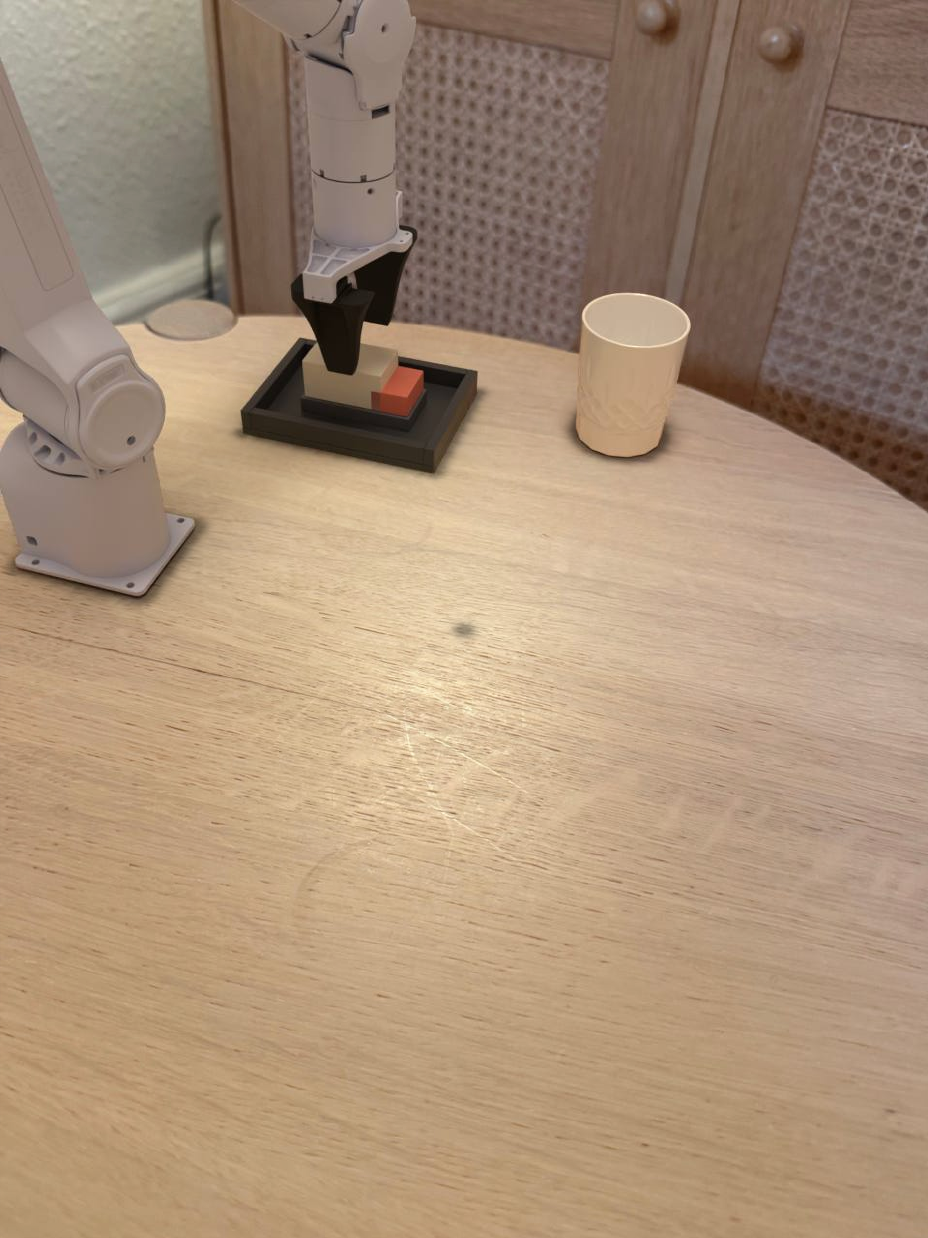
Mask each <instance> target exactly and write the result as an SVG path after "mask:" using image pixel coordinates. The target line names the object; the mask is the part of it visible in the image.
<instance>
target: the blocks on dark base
mask: <svg viewBox="0 0 928 1238" xmlns="http://www.w3.org/2000/svg"><path fill="white" fill-rule="evenodd" d="M398 356H399V350H398V349H394V348H388V347H384V346H377V345H373V344H367V343H363V342H360V353H359V361H358V365H357V369H356V371H355V373H354V374H353V375H352V376H350V375H345V374H339V373H334V372H329V371H328V370H327V368H326V366H325V363H324V360H323V357H322V354H321V351H320V348H319V346H318V343H316V344H315V345H314V346H313V348H312V349H311V350H310V352H309V353H308V354H307V355H306V357H305V358H304V359H303V360H302V365H303V377H304V389H305V392H304V393H303V395H302V396H301V397H300V401H301V410H303V411H308V412H313V413H318V414H323V415H327V416H332V417H337V418H342V419H347V420H352V421H357V422H362V423H366V424H371V425H376V426H381V427H386V428H391V429H396V430H401V431H405V432H409V431H410V429H411V427H412V426H413V424H414V422H415V421H416V419H417V417H418V416H419V414H420V412H421V411H422V409H423V407H424V405H425V404H426V402H427V389H423V373H424V372H423V371H422V370H417V369H411V368H406V367H401V366H398Z"/></svg>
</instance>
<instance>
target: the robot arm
mask: <svg viewBox="0 0 928 1238" xmlns="http://www.w3.org/2000/svg"><path fill="white" fill-rule="evenodd" d="M230 1H231V2H232V3H234V4H236V5H237V6H238V7H240V8H242V9H244V10H245V11H247V12H248V13H249V14H251V15H253V16H254V17H256V18H257V19H259V20H261V21H262V22H264V23H265V24H267V25H268V26H270V27H272V28H273V29H275V30H276V31H278V32H279V33H281V34H282V36H283V39H284V40H285V43H286V44H287V46H288V47H289V49H290V50H292V51H293V52H294V53H295V52H296V53H297V52H301V53H303V54H304V56H303V65H304V80H305V82H304V83H305V96H306V110H307V126H308V142H309V143H308V145H309V157H310V175H311V176H310V178H311V192H312V193H311V194H312V206H313V207H312V209H313V225H312V228H311V233H310V234H311V236H310V246H309V256H308V263H307V265H306V267H305V269H304V270H303V271H302V273H299V275H298V276H297V277H296V278H294V280H293V281H292V282H291V283H290V297H291V300H292V301H293V302H294V304H295V305H296V307H298V309H299V311H301V313H302V314H303V315H304V317H305V319H306V321H307V322H308V324H309V326H310V328H311V330H312V332H313V334H314V338H315V340H317V343H318V346H319V348H320V351H321V354H322V357H323V360H324V363H325V366H326V368H327V370H328V371H329V372H334V373H339V374H345V375H350V376H352V375H353V374H354V373H355V371H356V369H357V365H358V361H359V353H360V343H362V333H363V326H364V323H369V324H374V325H380V326H385V327H389V325H390V323H391V322H392V318H393V316H394V312H395V308H396V303H397V302H396V301H397V297H398V293H399V288H400V283H401V280H402V275H403V272H404V269H405V266H406V263H407V260H408V258H409V256H410V253H411V251H412V249H413V247H414V246H415V244H416V242H417V240H418V230H417V229H416V228H415V227H412V226H409V225H405V224H400V220H401V219H402V217H403V214H404V213H403V204H404V203H403V191H402V190H397V165H396V163H397V158H396V157H397V155H396V153H397V150H396V147H397V145H396V144H397V143H396V140H397V139H396V101H397V100H398V99H399V97H400V91H402V90H403V72H404V71H403V70H404V67H405V63H406V59H407V58H408V55H409V53H410V52H411V49H412V45H413V43H414V39H415V34H416V29H417V27H416V26H417V17H416V16H415V15H413V16H412V14H411V7H410V5H409V2H408V0H230ZM351 273H353V274H354V279H355V286H356V288H354V287H353V283H352V282H349V276H348V275H349V274H351ZM88 285H89V284H88V283H87V280H86V278H85V274H84V272H83V269H82V268H81V265H80V262H79V260H78V257H77V254H76V252H75V249H74V246H73V244H72V241H71V238H70V236H69V233H68V231H67V229H66V225H65V222H64V220H63V218H62V215H61V212H60V210H59V207H58V204H57V201H56V200H55V197H54V195H53V192H52V189H51V186H50V183H49V182H48V178H47V176H46V173H45V170H44V168H43V165H42V162H41V161H40V158H39V155H38V153H37V150H36V147H35V145H34V142H33V140H32V137H31V134H30V131H29V129H28V126H27V124H26V121H25V118H24V116H23V113H22V110H21V108H20V106H19V103H18V100H17V97H16V95H15V92H14V90H13V88H12V85H11V82H10V79H9V77H8V75H7V71H6V69H5V66H4V63H3V61H2V59H1V57H0V400H1V401H2V402H3V403H4V404H5V405H6V406H7V407H9V408H10V409H12V410H15V411H17V412H18V413H21V414H22V415H21V416H22V418H23V421H22V422H20V423H18V424H17V425H16V426H15V427H14V428H13V429H12V430H10V432H9V434H8V435H7V437H6V438H5V440H4V442H3V444H2V445H1V448H0V494H1V497H2V499H3V502H4V506H5V509H6V511H7V514H8V517H9V520H10V523H11V526H12V529H13V531H14V534H15V537H16V541H17V543H18V546H19V549H20V553H19V554H18V555H17V556H16V558H15V559H14V563H15V565H16V567H17V568H18V569H24V570H27V571H31V572H35V573H40V574H44V575H47V576H52V577H57V578H59V579H65V580H69V581H73V582H77V583H81V584H85V585H88V586H93V587H98V588H100V589H105V590H110V591H113V592H117V593H121V594H126V595H129V596H134V597H141V596H142V595H144V594H146V592H147V591H148V590H149V588H150V587H151V585H152V584H153V583H154V581H155V580H156V579H157V577H158V576H159V575H160V574H161V572H162V571H163V570H164V568H165V567H166V566H167V564H169V562H170V560H171V559H172V558H173V556H174V555H175V554H176V552H177V551H178V549H179V548H180V547H181V546H182V544H183V543H184V542H185V540H186V539H187V538H188V537H189V535H190V534H191V533H192V531H193V530H194V529H195V527H196V523H195V519H194V518H192V517H188V516H184V515H178V514H174V513H170V512H166V511H167V510H166V506H165V502H164V497H163V491H162V487H161V481H160V477H159V472H158V468H157V463H156V458H155V454H154V450H155V445H156V442H157V441H158V439H159V437H160V435H161V433H162V431H163V427H164V425H165V421H166V413H167V411H166V410H167V406H166V398H165V395H164V393H163V390H162V389H161V387H160V385H159V384H158V382H157V381H156V380H155V379H154V378H153V377H152V376H150V375H149V374H148V373H146V372H145V371H144V370H143V369H142V368H141V367H140V366H139V364H138V363H137V361H136V358H135V356H134V353H133V351H132V349H131V346H130V344H129V343H128V341H127V340H126V339H125V337H124V336H123V335H122V333H120V331H119V330H118V329H117V327H116V326H115V325H114V323H113V322H112V321H111V320H110V319H109V318H108V316H107V315H106V314H105V313H104V312H103V311H102V309H101V308H100V306H99V305H98V304H97V303H96V301H95V300H94V298H93V296H92V293H91V291H90V288H89V286H88Z"/></svg>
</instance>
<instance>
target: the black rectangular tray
mask: <svg viewBox="0 0 928 1238" xmlns="http://www.w3.org/2000/svg"><path fill="white" fill-rule="evenodd" d="M316 343H317V340H316V339H311V338H305V337H299V338H298V339H297V340H296V341H295V342H294V344H293V345H292V346H291V347H290V349H289V350H288V351H287V353H285V355H284V356H283V357H282V359H281V360H279V362H278V364H277V365H276V366H275V367H274V369H273V370H272V371H271V372H270V373H269V375H268V376H267V377H266V378H265V380H264V381H263V382H262V383H261V384H260V385H259V387H258V388H257V390H256V391H255V392H254V393H253V394H252V396H251V397H250V398H249V399H248V400H247V402H246V403H245V404H244V406H243V407H242V408H241V410H240V418H241V425H242V434H245V435H250V436H255V437H259V438H263V439H269V440H273V441H278V442H284V443H288V444H292V445H298V446H303V447H308V448H311V449H317V450H322V451H326V452H332V453H336V454H341V455H345V456H350V457H354V458H355V457H356V458H359V459H360V458H361V459H365V460H369V461H375V462H380V463H384V464H389V465H392V466H399V467H403V468H407V469H413V470H417V471H423V472H427V473H432V474H434V473H435V471H436V469H437V468H438V466H439V465H440V462H441V460H442V458H443V457H444V455H445V453H446V451H447V449H448V447H449V445H450V443H451V442H452V440H453V438H454V436H455V434H456V432H457V431H458V428H459V427H460V425H461V423H462V421H463V419H464V418H465V416H466V413H467V412H468V410H469V408H470V407H471V405H472V402H473V400H474V398H475V397H476V395H477V393H478V374H479V372H478V370H475V369H471V368H470V369H469V368H464V367H458V366H455V365H448V364H443V363H438V362H433V361H427V360H422V359H418V358H417V359H416V358H412V357H406V356H401V355H398V366H401V367H406V368H411V369H417V370H422V371H423V372H424V373H423V389H427V402H426V404H425V405H424V407H423V409H422V411H421V412H420V414H419V416H418V417H417V419H416V421H415V422H414V424H413V426H412V427H411V429H410V431H409V432H405V431H401V430H396V429H391V428H386V427H381V426H376V425H371V424H366V423H362V422H357V421H352V420H347V419H342V418H337V417H332V416H327V415H323V414H318V413H313V412H308V411H303V410H301V401H300V397H301V396H302V395H303V393H304V392H305V389H304V377H303V365H302V360H303V359H304V358H305V357H306V355H307V354H308V353H309V352H310V350H311V349H312V348H313V346H314V345H315V344H316Z"/></svg>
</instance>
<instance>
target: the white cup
mask: <svg viewBox="0 0 928 1238" xmlns="http://www.w3.org/2000/svg"><path fill="white" fill-rule="evenodd" d="M691 325H692V324H691V320H690V317H689V316H688V314H687V313H686V312H685V311H684V310H683V309H682V308H680V307H679V306H678V305H676V304H675V303H674V302H671V301H669V300H667V299H664V298H661V297H658V296H654V295H651V294H645V293H639V292H617V293H616V292H615V293H611V294H606V295H603V296H599V297H598V298H595V299H593V300H591V301H590V302H588V303H587V304H586V305H585V307H584V308H583V310H582V313H581V324H580V339H579V352H578V353H579V354H578V365H577V367H578V368H577V389H576V402H577V407H576V417H575V429H576V432H577V435H578V438H579V440H580V441H581V442H583V443H584V444H585V445H586V446H587V447H588V448H589V449H590V450H593V451H596V452H598V453H601V454H603V455H606V456H609V457H621V458H622V457H623V458H630V457H637V456H641V455H645V454H647V453H649V452H650V451H651V450H653V449H655V448H656V447H658V445H659V442H660V441H661V438H662V435H663V431H664V427H665V423H666V419H667V415H669V412H670V409H671V405H672V401H673V398H674V394H675V391H676V387H677V383H678V379H679V375H680V371H681V368H682V367H681V366H682V363H683V359H684V355H685V351H686V347H687V343H688V338H689V334H690V331H691Z"/></svg>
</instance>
